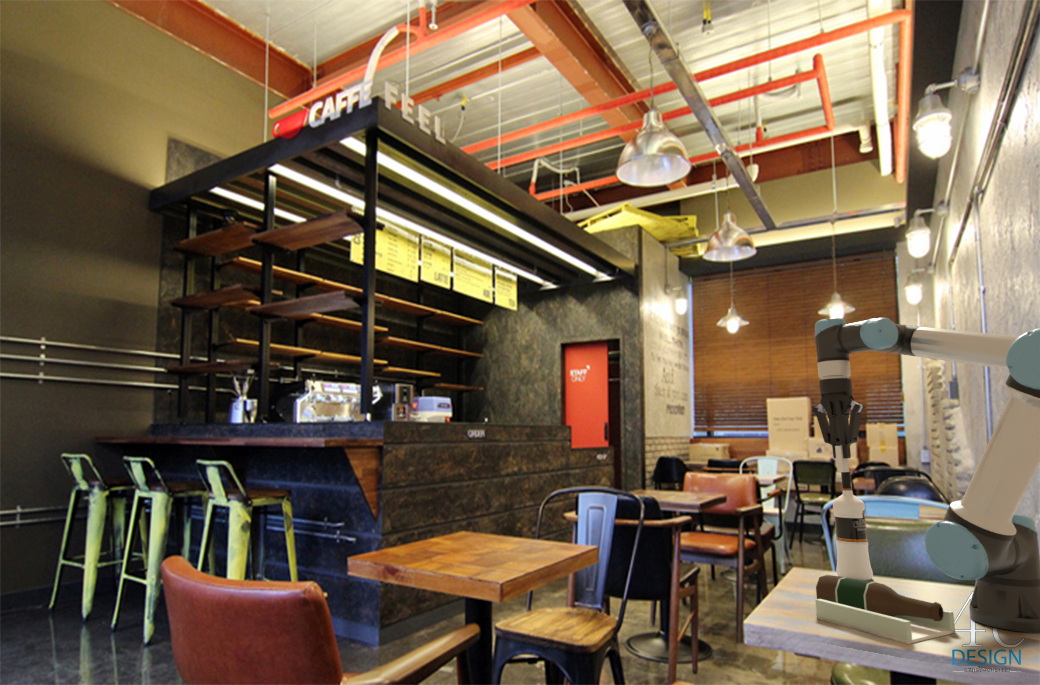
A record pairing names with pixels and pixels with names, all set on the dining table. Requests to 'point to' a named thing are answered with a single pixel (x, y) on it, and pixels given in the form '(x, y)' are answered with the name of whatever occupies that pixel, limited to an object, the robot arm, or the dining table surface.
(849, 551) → the vodka
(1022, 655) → the dining table surface
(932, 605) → the beer bottle
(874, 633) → the rest
